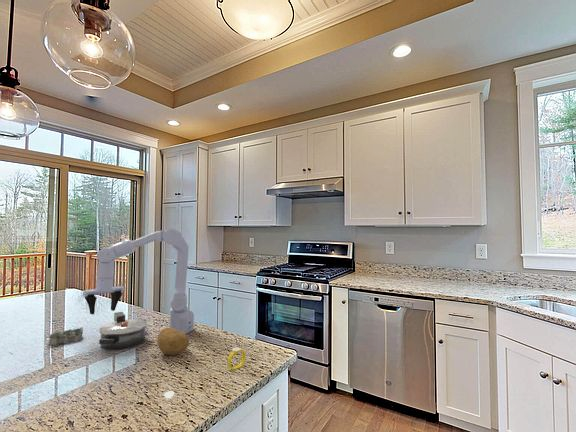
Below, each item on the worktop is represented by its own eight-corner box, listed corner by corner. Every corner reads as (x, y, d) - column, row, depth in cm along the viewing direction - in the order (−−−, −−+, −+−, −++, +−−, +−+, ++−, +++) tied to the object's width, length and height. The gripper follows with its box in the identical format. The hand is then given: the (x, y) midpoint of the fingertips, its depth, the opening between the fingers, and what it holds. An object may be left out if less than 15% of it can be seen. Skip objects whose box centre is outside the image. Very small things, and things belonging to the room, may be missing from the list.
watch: (231, 373, 90) (230, 354, 90) (226, 370, 92) (225, 351, 92) (247, 365, 94) (246, 347, 94) (241, 362, 96) (241, 344, 96)
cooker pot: (126, 354, 103) (127, 339, 103) (84, 353, 103) (85, 338, 103) (159, 330, 127) (159, 318, 127) (124, 330, 127) (125, 318, 127)
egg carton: (47, 347, 109) (47, 335, 109) (50, 340, 116) (50, 329, 116) (82, 341, 115) (82, 330, 115) (83, 335, 121) (83, 325, 121)
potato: (169, 364, 95) (169, 339, 95) (150, 352, 104) (151, 329, 105) (196, 355, 102) (196, 331, 103) (176, 344, 112) (177, 323, 112)
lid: (151, 329, 112) (151, 321, 113) (102, 338, 103) (102, 330, 103) (138, 316, 130) (139, 309, 130) (95, 323, 120) (95, 315, 120)
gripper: (119, 274, 127) (116, 306, 126) (80, 278, 115) (77, 313, 114) (127, 276, 123) (125, 309, 122) (88, 280, 111) (85, 317, 110)
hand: (102, 312), depth 118 cm, fingers open, 7 cm apart
